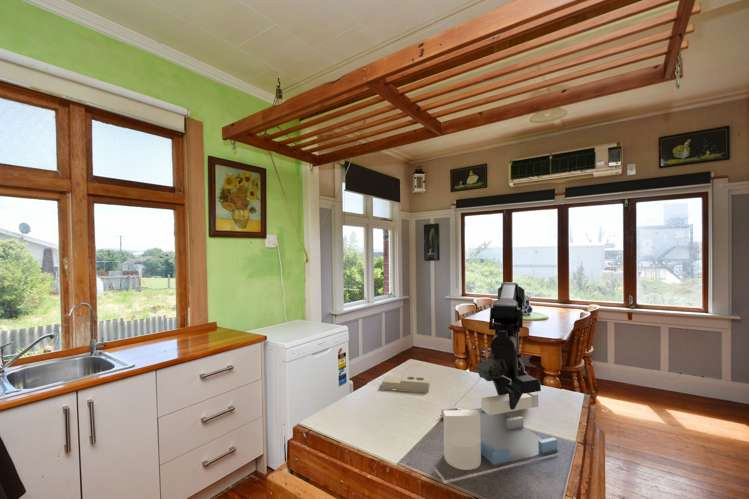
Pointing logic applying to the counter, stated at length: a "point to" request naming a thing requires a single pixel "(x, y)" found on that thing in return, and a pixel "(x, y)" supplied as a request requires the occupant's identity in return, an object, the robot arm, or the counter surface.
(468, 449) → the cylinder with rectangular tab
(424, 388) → the electrical outlet
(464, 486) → the counter surface
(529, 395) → the long cream plank
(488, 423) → the board
